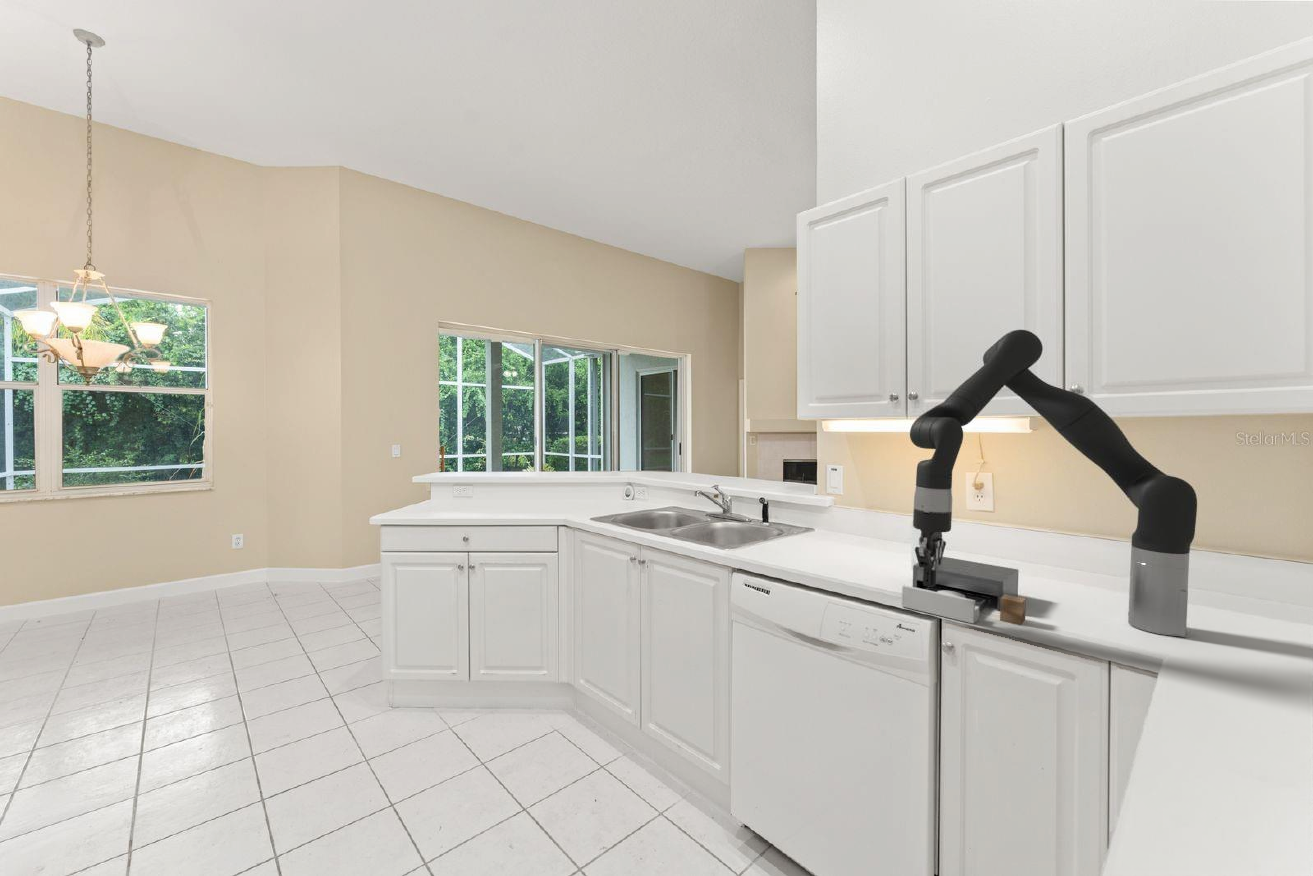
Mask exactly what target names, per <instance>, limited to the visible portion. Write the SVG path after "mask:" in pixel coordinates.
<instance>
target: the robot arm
mask: <svg viewBox="0 0 1313 876" xmlns="http://www.w3.org/2000/svg"><path fill="white" fill-rule="evenodd" d="M1043 349H1044V348H1043V342H1042V341H1041V339H1040V338H1039V337H1038V336H1037V335H1036V334H1035V333H1033V332H1031V330H1030V331H1029V330H1025V329H1015V330H1011V331H1009V332H1008V333H1006V334H1004V335H1003V336H1002V337H1000V338H999V339H998V340H997V341H995V343H994V344H992V346H990V347H989V348H988V349H986V351H985V352H984V354H983V357H982V362H983V365H982V367H980V368H979V369H978V370H977V371H975V372H974V373H973V374H972V375H971V376H970V377H968V378H967V379H966V380H965V381H964V382H962V383H961V384H960V385H959V386H958V387H957V388H956V389H955V390H953V392H952V393H951V394H950V395H949V396H948V397H947V398H946V399H945V400H944V401H943V402H942V403H940V404H938V405H935V406H934V407H932V408H930V409H929V410H927V411H925V412H924V413H922V414H921V415H919V417H916V418H917V419H915V420H914V421H913V423H912V425H911V427H910V430H909V437H910V440H911V443H913V445H914V446H916V447H918V448H921V449H926V450H934V453H933V455H932V457H931V458H930V459H929V458H928V459H925V460H920V461H919V462H918V463H917V466H916V476H915V477H916V478H915V491H914V494H913V495H914V496H913V512H912V514H913V517H912V518H913V519H912V521H913V527H914V528H916V529H920V530H921V537H920V538H919V545H920V547H916V548H915V553H916V556H917V560H918V563H919V567H922V569H923V585H924V586H927V588H928V587H933V586H937V584H936V570H935V569H938V565H940V564H941V560H942V557H944V552H945V549H946V546H947V542H946V541H945V540H944V538H943V533H948V532H950V531H951V530H952V519H953V518H952V517H953V515H952V514H953V495H952V494H953V493H952V492H953V491H952V490H953V489H952V487H953V485H952V484H953V469H954V468H955V464H956V461H957V458H958V455H959V452H960V450H961V447H962V444H963V439H964V430H963V427H964V426H967V425H968V424H969V423H971V422H972V421H973V420H974V419H975V418H976V417H977V416H978V415H979V414H980V413H981V412H982V411H983V409H984V408H985V407H986V406H987V405H988V404H989V403H990V402H991V401H992V400H993V399H994V397H995V396H996V395H997V394H998V393H999V392H1000V391H1001V390H1002V388H1004V386H1005V387H1006V388H1008V389H1009V390H1010V391H1012V392H1013V393H1014V394H1015V395H1016V396H1018V397H1020V398H1021V399H1022V400H1023V401H1024V402H1026V404H1028V405H1029V407H1031V408H1032V409H1033V410H1034V411H1036V412H1037V414H1039V415H1040V416H1041V417H1042V418H1043V419H1045V421H1046V422H1048V423H1049V424H1050V426H1051V427H1053V428H1054V430H1055V431H1056V432H1058V434H1059V435H1061V437H1063V438H1064V439H1065V440H1066V441H1067V442H1068V443H1069V444H1070V445H1072V446H1073V447H1074V448H1075V449H1076V450H1077V451H1078V452H1080V453H1081V454H1082V455H1083V456H1084V457H1086V458H1087V459H1088V460H1090V461H1091V462H1092V463H1093V464H1095V465H1096V466H1097V467H1099V468H1100V469H1101V470H1102V471H1104V472H1105V473H1106V475H1107V476H1108V477H1109V478H1110V479H1111V480H1112V481H1113V482H1114V483H1115V484H1116V485H1117V486H1118V487H1119V489H1120V490H1121V491H1122V492H1123V494H1124V495H1125V496H1126V497H1127V498H1128V499H1129V501H1130V502H1131V503H1132V504H1133V506H1134V507H1136V509H1137V512H1138V513H1137V514H1138V515H1137V525H1136V529H1135V531H1134V532H1133V533H1132V534H1131V544H1130V545H1131V547H1130V548H1131V549H1130V570H1129V590H1128V591H1129V593H1128V596H1129V597H1128V612H1127V622H1128V624H1129V625H1130V626H1132V627H1134V628H1137V629H1140V630H1142V631H1145V632H1149V633H1153V634H1159V635H1162V636H1163V635H1164V636H1172V637H1173V636H1175V637H1182V638H1187V625H1188V624H1187V619H1188V599H1189V597H1188V595H1189V569H1190V567H1189V565H1190V551H1191V545H1192V543H1193V541H1194V539H1195V535H1196V524H1197V511H1198V499H1197V493H1196V491H1195V489H1194V487H1193V486H1192V485H1191V484H1190V483H1189V482H1188V481H1186V480H1184V479H1182V478H1180V477H1176V476H1173V475H1168V474H1166V473H1164V471H1161V470H1160V468H1157V467H1156V466H1155V465H1153V464H1152V463H1151V462H1150V461H1148V460H1147V459H1146V458H1145V457H1143V456H1142V455H1141V454H1140V453H1139V452H1138V451H1137V450H1136V449H1135V448H1134V446H1133V445H1132V444H1131V442H1130V441H1129V439H1128V438H1127V437H1126V435H1125V434H1124V432H1123V431H1122V430H1121V428H1120V427H1119V425H1118V424H1117V423H1116V422H1115V421H1114V419H1112V418H1111V417H1110V416H1109V415H1108V414H1107V413H1106V412H1105V411H1104V410H1103V409H1102V408H1101V407H1099V406H1098V405H1097V404H1096V403H1095V402H1094V401H1093V400H1092V399H1090V398H1088V397H1086V396H1085V395H1081V394H1079V393H1077V392H1074V391H1070V390H1066V389H1064V388H1060V387H1057V386H1054V385H1051V384H1049V383H1047V382H1046V381H1044V380H1042V379H1041V378H1040V377H1039V376H1037V375H1036V374H1035V373H1033V372H1032V371H1031V370H1030V369H1029V368H1031V367H1032V366H1034V365H1035V364H1036V363H1037V361H1039V359H1040V358H1041V357H1042V354H1043Z"/></svg>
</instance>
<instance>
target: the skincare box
mask: <svg viewBox="0 0 1313 876" xmlns="http://www.w3.org/2000/svg"><path fill="white" fill-rule="evenodd" d="M910 524H911V525H910V530H911V532H910V533H911V535H910V536H911V537H910V539H911V540H910V543H911V544H910V545H911V551H910V552H911V557H910V558H911V560H910V561H911V568H910V569H911V570H912V571H913V565H915V564H917V563H918V560H917V556H916V553H915V548H916V547H920V545H919V538H920V537H921V530H920V529H916V528H914V527H913V520H912V521H911V523H910Z"/></svg>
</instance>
